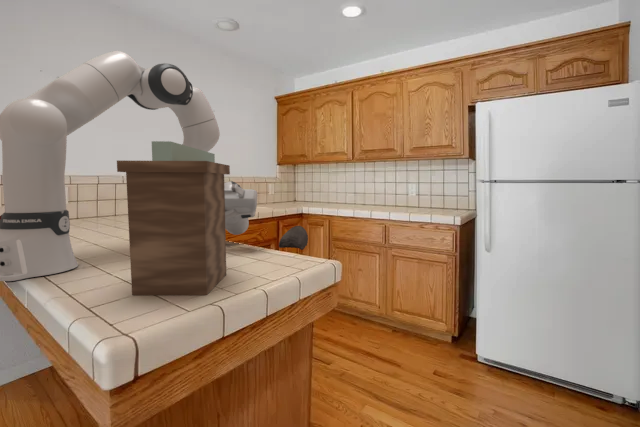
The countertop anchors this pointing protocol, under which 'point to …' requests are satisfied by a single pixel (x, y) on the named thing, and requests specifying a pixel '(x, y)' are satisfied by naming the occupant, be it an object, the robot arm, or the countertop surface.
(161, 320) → the countertop surface
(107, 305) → the countertop surface
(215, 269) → the pedestal
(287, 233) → the stone
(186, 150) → the bar
